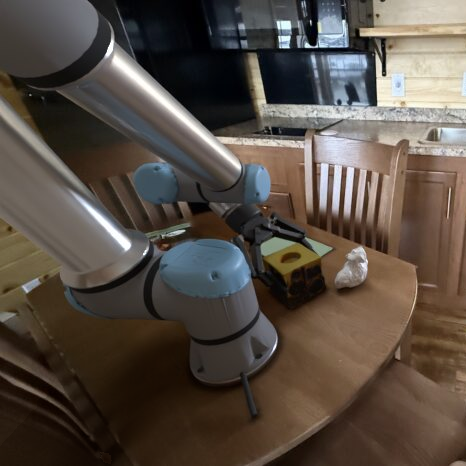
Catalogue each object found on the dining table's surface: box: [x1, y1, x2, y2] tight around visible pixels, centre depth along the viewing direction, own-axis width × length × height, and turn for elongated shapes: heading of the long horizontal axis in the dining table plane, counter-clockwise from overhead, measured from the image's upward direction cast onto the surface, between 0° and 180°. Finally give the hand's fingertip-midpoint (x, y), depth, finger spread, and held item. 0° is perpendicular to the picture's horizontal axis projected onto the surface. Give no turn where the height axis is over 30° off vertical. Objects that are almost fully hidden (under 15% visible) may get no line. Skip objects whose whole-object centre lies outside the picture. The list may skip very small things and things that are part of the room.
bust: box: [334, 245, 369, 290], centre depth 79 cm, size 12×8×11 cm
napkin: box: [261, 236, 334, 257], centre depth 94 cm, size 20×14×1 cm
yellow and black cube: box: [262, 243, 327, 309], centre depth 76 cm, size 10×10×10 cm
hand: (302, 276), depth 75 cm, fingers open, 13 cm apart
